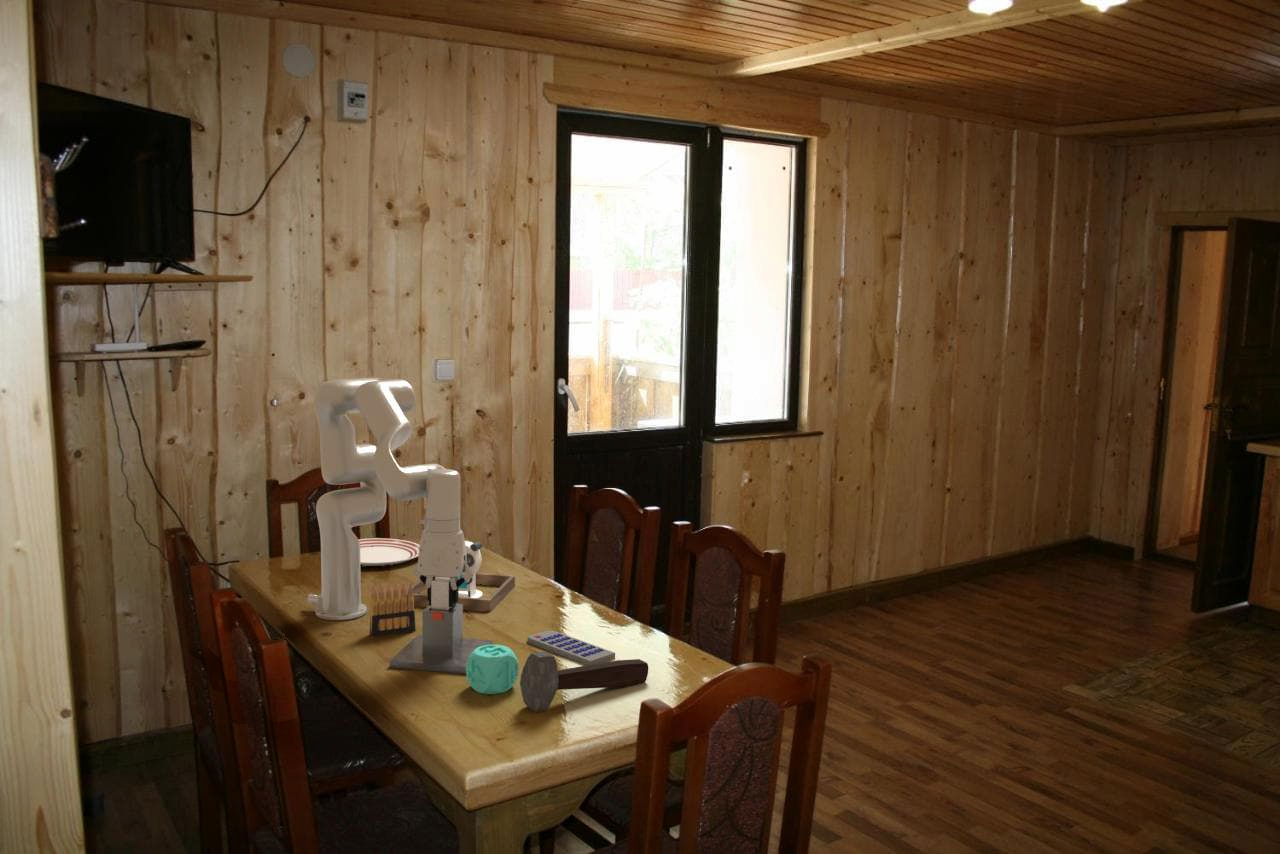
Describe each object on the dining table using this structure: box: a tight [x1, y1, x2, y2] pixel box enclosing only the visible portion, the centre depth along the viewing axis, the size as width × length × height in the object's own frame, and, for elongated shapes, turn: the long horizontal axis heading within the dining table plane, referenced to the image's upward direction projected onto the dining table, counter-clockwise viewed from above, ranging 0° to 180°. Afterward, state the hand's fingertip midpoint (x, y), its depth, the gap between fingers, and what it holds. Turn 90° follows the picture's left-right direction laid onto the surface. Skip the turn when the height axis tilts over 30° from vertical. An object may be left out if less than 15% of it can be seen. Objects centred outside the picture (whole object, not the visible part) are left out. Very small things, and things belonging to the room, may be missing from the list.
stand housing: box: [389, 603, 494, 675], centre depth 237 cm, size 18×18×12 cm
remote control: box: [527, 630, 616, 666], centre depth 245 cm, size 8×23×2 cm, turn 47°
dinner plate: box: [358, 537, 420, 567], centre depth 319 cm, size 28×27×3 cm
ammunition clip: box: [369, 582, 416, 637], centre depth 252 cm, size 11×2×12 cm, turn 118°
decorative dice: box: [465, 644, 520, 695], centre depth 220 cm, size 8×8×8 cm
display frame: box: [406, 572, 516, 612], centre depth 284 cm, size 24×24×3 cm
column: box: [431, 577, 454, 612], centre depth 237 cm, size 4×4×16 cm
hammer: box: [519, 651, 649, 713], centre depth 218 cm, size 5×11×30 cm
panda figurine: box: [458, 540, 484, 599], centre depth 284 cm, size 12×11×15 cm
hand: (442, 603), depth 236 cm, fingers closed on column, 4 cm apart
